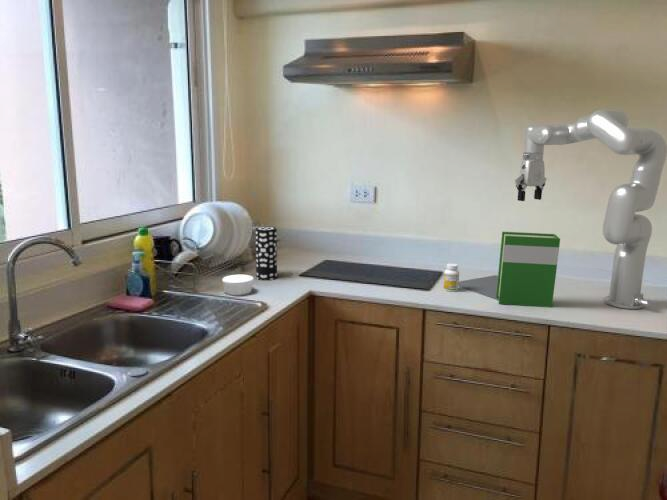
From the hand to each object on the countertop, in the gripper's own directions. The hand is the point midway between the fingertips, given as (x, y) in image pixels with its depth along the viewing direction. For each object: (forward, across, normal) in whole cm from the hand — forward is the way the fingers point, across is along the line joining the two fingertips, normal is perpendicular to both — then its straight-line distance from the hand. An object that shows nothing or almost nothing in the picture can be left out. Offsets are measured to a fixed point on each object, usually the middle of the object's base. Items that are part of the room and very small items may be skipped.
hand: (529, 200), depth 229 cm
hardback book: (+31, -30, -26) cm, 51 cm away
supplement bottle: (+31, -42, -2) cm, 52 cm away
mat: (+31, -24, -9) cm, 40 cm away
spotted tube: (+31, -95, +47) cm, 111 cm away
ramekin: (+31, -112, +34) cm, 121 cm away
